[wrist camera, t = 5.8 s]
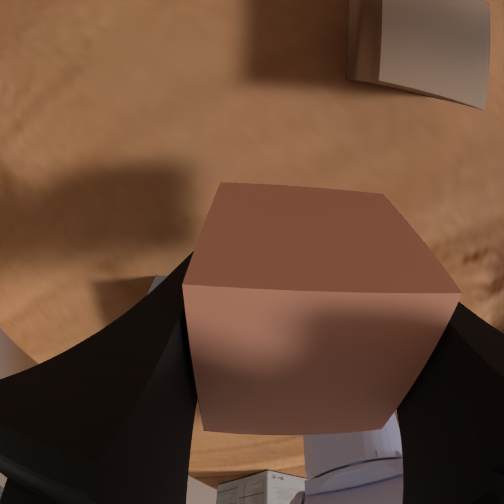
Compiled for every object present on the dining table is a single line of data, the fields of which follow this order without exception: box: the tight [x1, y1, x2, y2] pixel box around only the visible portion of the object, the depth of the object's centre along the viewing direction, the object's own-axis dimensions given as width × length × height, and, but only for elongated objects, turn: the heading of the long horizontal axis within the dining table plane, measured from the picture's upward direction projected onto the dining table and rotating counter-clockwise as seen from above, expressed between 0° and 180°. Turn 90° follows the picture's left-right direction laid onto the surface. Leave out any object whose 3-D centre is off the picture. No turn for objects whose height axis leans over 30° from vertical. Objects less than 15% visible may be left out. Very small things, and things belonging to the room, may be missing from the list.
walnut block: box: [345, 0, 490, 110], centre depth 10 cm, size 5×5×5 cm
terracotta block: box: [182, 183, 462, 435], centre depth 8 cm, size 5×5×5 cm
